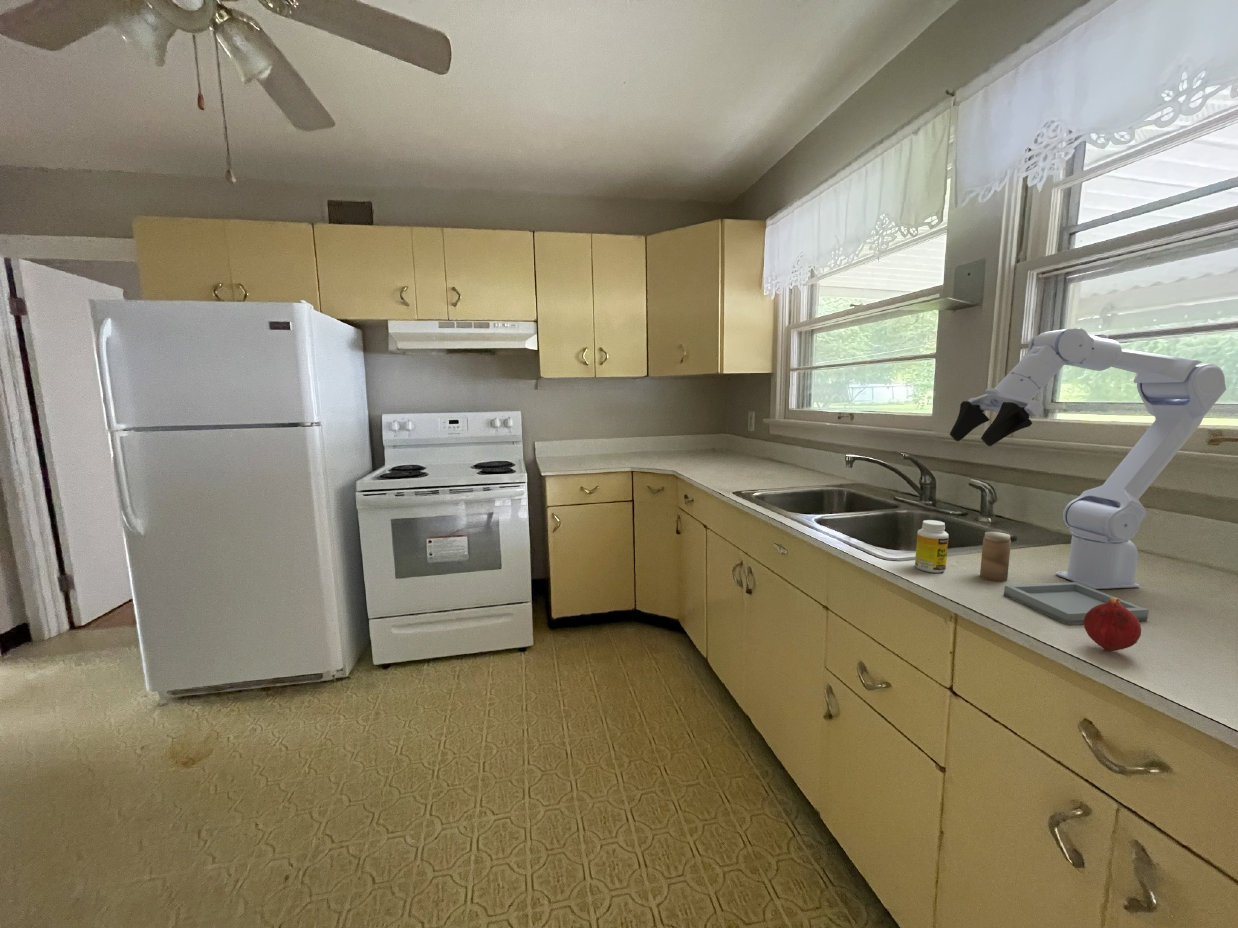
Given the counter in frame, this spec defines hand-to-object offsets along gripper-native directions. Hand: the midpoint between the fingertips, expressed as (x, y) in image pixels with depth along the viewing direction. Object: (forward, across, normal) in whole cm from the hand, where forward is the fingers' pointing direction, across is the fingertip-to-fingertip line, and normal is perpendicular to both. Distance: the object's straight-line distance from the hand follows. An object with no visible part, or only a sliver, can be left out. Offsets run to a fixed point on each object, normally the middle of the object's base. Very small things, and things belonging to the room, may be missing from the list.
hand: (969, 440), depth 91 cm
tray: (+13, +11, +28) cm, 33 cm away
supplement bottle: (+20, -8, +20) cm, 30 cm away
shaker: (+14, -2, +27) cm, 30 cm away
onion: (+18, +26, +21) cm, 38 cm away
